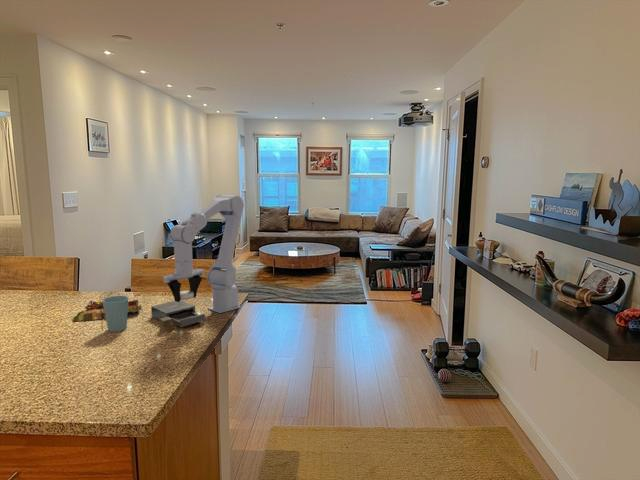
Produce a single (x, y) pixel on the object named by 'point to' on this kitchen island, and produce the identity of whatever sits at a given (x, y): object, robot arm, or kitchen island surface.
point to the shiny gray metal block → (170, 309)
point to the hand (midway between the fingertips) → (185, 299)
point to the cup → (116, 312)
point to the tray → (187, 318)
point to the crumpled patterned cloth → (101, 311)
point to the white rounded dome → (186, 295)
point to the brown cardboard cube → (166, 324)
